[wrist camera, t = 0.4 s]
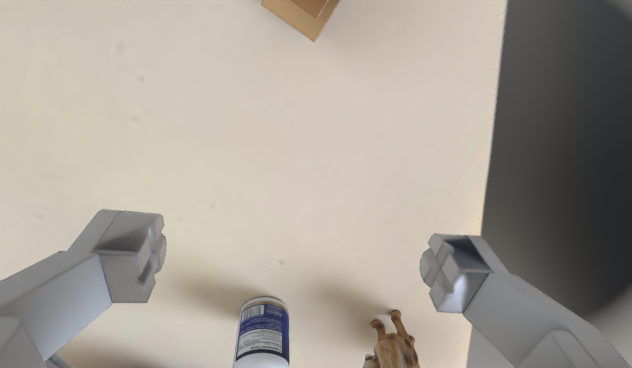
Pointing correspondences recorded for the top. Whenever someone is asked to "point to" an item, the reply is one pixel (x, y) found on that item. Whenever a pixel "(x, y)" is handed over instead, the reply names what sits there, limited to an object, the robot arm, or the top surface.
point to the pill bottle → (262, 335)
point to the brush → (303, 14)
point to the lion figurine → (392, 347)
